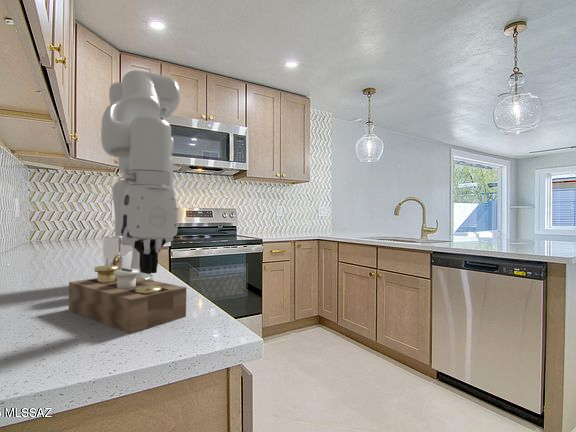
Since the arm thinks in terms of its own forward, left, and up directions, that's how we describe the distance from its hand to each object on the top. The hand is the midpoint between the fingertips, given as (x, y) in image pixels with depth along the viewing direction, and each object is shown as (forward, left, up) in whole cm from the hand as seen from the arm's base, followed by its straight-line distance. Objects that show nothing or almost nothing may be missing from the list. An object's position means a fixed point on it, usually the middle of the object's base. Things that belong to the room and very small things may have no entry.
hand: (148, 272), depth 65 cm
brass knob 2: (+1, 0, -9) cm, 9 cm away
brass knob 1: (-15, 0, -6) cm, 17 cm away
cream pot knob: (-7, 0, -6) cm, 10 cm away
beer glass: (-25, +8, -10) cm, 28 cm away
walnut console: (-7, 0, -9) cm, 12 cm away
